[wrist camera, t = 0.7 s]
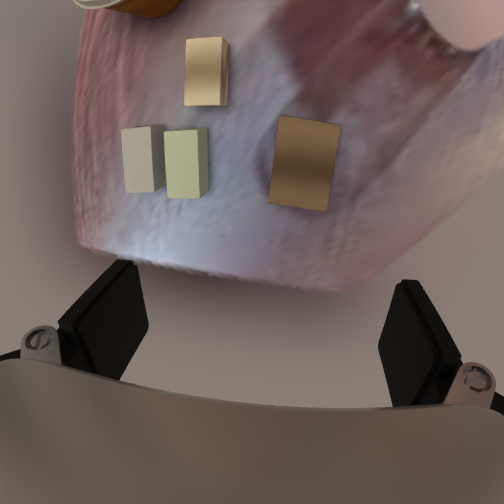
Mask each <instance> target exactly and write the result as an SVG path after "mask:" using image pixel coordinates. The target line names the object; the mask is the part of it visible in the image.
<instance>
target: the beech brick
mask: <svg viewBox="0 0 504 504" xmlns="http://www.w3.org/2000/svg"><path fill="white" fill-rule="evenodd" d="M229 51H230V45H229V44H228V42H227V41H226V40H225V39H224V38H223V37H209V38H195V39H186V59H185V91H184V106H228V78H229Z"/></svg>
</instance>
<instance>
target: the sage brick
mask: <svg viewBox="0 0 504 504" xmlns="http://www.w3.org/2000/svg"><path fill="white" fill-rule="evenodd" d="M164 147H165V166H166V181H167V195H168V198H188V199H200V198H201V197H202V196H203V195H204V194H205V193H206V192H207V191H208V190H209V172H208V131H207V128H189V129H175V130H170V131H165V132H164Z"/></svg>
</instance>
